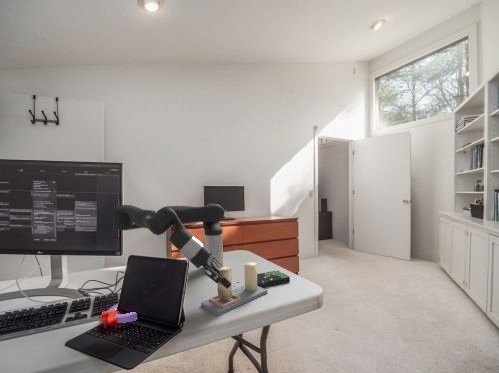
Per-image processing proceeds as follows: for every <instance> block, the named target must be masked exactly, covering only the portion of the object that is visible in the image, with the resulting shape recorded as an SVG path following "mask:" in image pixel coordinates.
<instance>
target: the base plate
mask: <svg viewBox="0 0 499 373" xmlns="http://www.w3.org/2000/svg"><path fill="white" fill-rule="evenodd" d="M243 267H244V284H243V285H242V286H239V287H237V288H233V289H232V297H231V298H229V299H225V300H223V299H219V298H218V294H217V295H214V296H212V297H209V299H206V300H203V301H201V302H200V306H202V307H203V308H205V309H206V310H208V311H210V313H212V314H214V315H216V316H220V315H222V314H224V313H226V312H229V311H231V310H234V309H236V308H237V307H240V306H242V305H244V304H247V303H248V302H251V301H252V300H255V299H257V298H259V297H261V296H264V295H265V294H268V289H266V288H261V287H259V286H257V274H258V263H257V262H245V263H244V265H243Z"/></svg>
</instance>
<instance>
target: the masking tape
mask: <svg viewBox="0 0 499 373" xmlns="http://www.w3.org/2000/svg"><path fill="white" fill-rule="evenodd" d="M118 304H119V303H117V304H114V305H113V306H111V307H110V308H109V309H108V310H107V312H108V311H114V310H117V307H118ZM115 318H116V319H117V323H127V322H132V321H136V320H137V319H138V318H137V313H136V312H130V313H126V314H116V316H115Z"/></svg>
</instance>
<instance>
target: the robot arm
mask: <svg viewBox="0 0 499 373" xmlns="http://www.w3.org/2000/svg"><path fill="white" fill-rule="evenodd" d="M121 205H122V206H118V205H116V206H117V207H115V206H114V207H115V208H114V207H113V208H114V210H113V228H114V229H115V230H114V229H113V228H112V229H113V230H114V231H116V230H122V232H123V231H129V230H138V229H148V230H149V231H150V232H151V233H152V234H153V235H156V236H160V235H162V234H165V232H167V230H169V229H170V228H171V227H173V232H172V233H171V235H170V236H169V239H168V240H169V242H170V243H171V244H172V246H174V247H175V249H177V250H178V251H179V252H180V253H181V254H182V255H183V257H185V258H186V260H188V261H189V262H190V263H191V264H192V265H193V266H194V267H195V268H196V269H200V268H201V267H203V269H204V270H205V272H204V275H205V276H207V277H208V278H209V279H210V280H212V281H213V282H215V283H216V284H218V282H220V283H221V284H222V285H223V286H224V287H225V288H227V289H228V288H229V287H230V286H231V284H232V282H231V283H230V282H229V281H228V280H227V279H226V278H225V277H224V276H223V275H222V274H221V273H220V270H219V268H221V267H224V249H223V247H224V246H223V228H222V226H221V224H220V221H221V220H222V219H223V218H224V217H225V209H224V207H223V206H221V205H220V204H218V203H217V204H216V203H213V202H211V203H207V204H206V205H203V206H190V205H168V206H167V205H166V206H163V207H161V208H160V209H158V210H152V209H143V208H140V207H137V206H135V205H131V204H121ZM199 222H202V227H203V231H204V243H203V242H202V241H201V240H200V239H198V238H197V237H195V236H194V235H193V234H192V233H191V232H190V231H189V230H188V229H187V228H186V227H185V225H187V224H192V223H199ZM231 281H232V276H231Z"/></svg>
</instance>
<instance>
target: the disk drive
mask: <svg viewBox="0 0 499 373" xmlns="http://www.w3.org/2000/svg"><path fill="white" fill-rule="evenodd" d="M290 282H291V277H290V276H289V275H287V274H286V273H284V272H281V271H280V270H272V271H267V272H263V273H257V286H259V287H261V288H264V289H266V288H268V287H273V286H277V285H283V284H286V283H290Z"/></svg>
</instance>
